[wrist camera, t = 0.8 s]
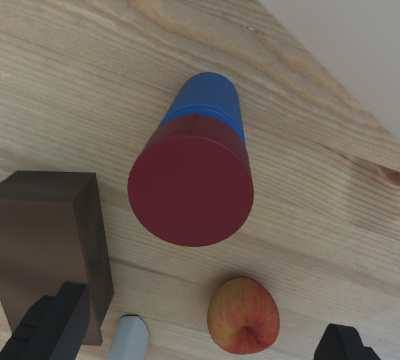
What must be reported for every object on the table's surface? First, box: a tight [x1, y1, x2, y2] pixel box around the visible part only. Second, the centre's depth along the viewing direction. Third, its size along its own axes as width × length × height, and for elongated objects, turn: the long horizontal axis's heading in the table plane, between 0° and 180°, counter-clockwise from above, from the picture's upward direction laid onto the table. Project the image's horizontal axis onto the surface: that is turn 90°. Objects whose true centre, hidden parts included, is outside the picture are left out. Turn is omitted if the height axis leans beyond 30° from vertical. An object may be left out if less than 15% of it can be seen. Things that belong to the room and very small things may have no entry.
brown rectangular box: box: [0, 171, 114, 346], centre depth 33 cm, size 17×9×7 cm, turn 0°
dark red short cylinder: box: [127, 114, 254, 247], centre depth 15 cm, size 5×5×3 cm
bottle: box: [158, 72, 245, 145], centre depth 21 cm, size 5×5×16 cm
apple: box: [207, 278, 280, 355], centre depth 34 cm, size 7×7×8 cm
